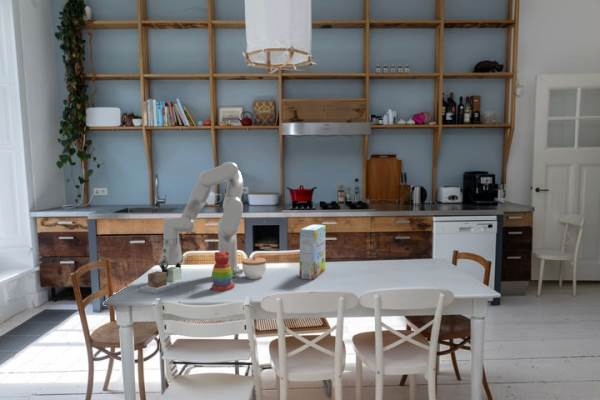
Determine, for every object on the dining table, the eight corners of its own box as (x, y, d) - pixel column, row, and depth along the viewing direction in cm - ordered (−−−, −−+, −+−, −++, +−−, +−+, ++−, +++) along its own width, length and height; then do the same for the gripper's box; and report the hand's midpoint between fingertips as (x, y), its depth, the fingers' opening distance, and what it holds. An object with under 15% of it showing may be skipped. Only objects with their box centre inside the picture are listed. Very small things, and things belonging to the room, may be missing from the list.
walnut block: (166, 284, 203) (166, 272, 203) (157, 287, 198) (157, 275, 197) (157, 283, 206) (157, 271, 205) (148, 286, 200) (147, 274, 200)
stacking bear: (235, 285, 205) (234, 249, 204) (232, 291, 195) (231, 253, 194) (212, 285, 205) (211, 249, 204) (209, 292, 195) (208, 253, 194)
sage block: (181, 279, 218) (181, 267, 218) (173, 282, 213) (173, 270, 213) (172, 278, 221) (172, 266, 221) (164, 280, 216) (163, 269, 215)
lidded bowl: (262, 281, 213) (262, 259, 212) (238, 279, 216) (238, 258, 215) (269, 274, 225) (269, 254, 225) (246, 273, 228) (246, 253, 227)
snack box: (315, 280, 213) (314, 229, 211) (298, 279, 216) (298, 229, 214) (326, 270, 234) (326, 224, 232) (311, 269, 236) (311, 223, 234)
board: (177, 285, 206) (177, 283, 205) (156, 293, 193) (156, 290, 193) (158, 283, 211) (158, 280, 211) (136, 290, 198) (136, 288, 198)
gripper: (164, 245, 206) (165, 279, 207) (188, 239, 222) (188, 272, 223) (153, 243, 209) (153, 277, 210) (177, 238, 225) (177, 270, 226)
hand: (171, 274), depth 217 cm, fingers open, 9 cm apart
